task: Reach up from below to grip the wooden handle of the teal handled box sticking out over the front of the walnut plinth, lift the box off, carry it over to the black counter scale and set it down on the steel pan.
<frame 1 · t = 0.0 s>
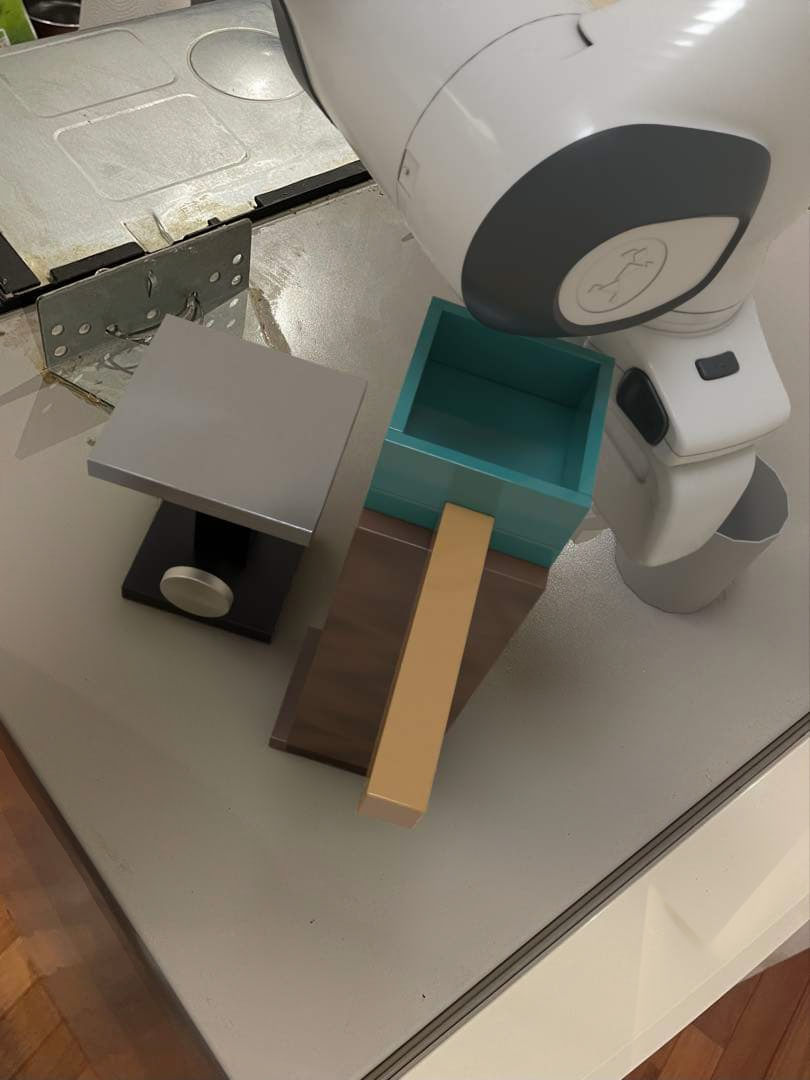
hand: (536, 464, 56), 16 cm above the counter, tool pointing down, fingers open, 8 cm apart
can: (537, 418, 80), on the counter
plinth: (362, 712, 63), on the counter
teal handled box: (476, 463, 42), point 26 cm above the counter, touching plinth
scale: (219, 565, 66), on the counter
cup: (666, 565, 75), on the counter
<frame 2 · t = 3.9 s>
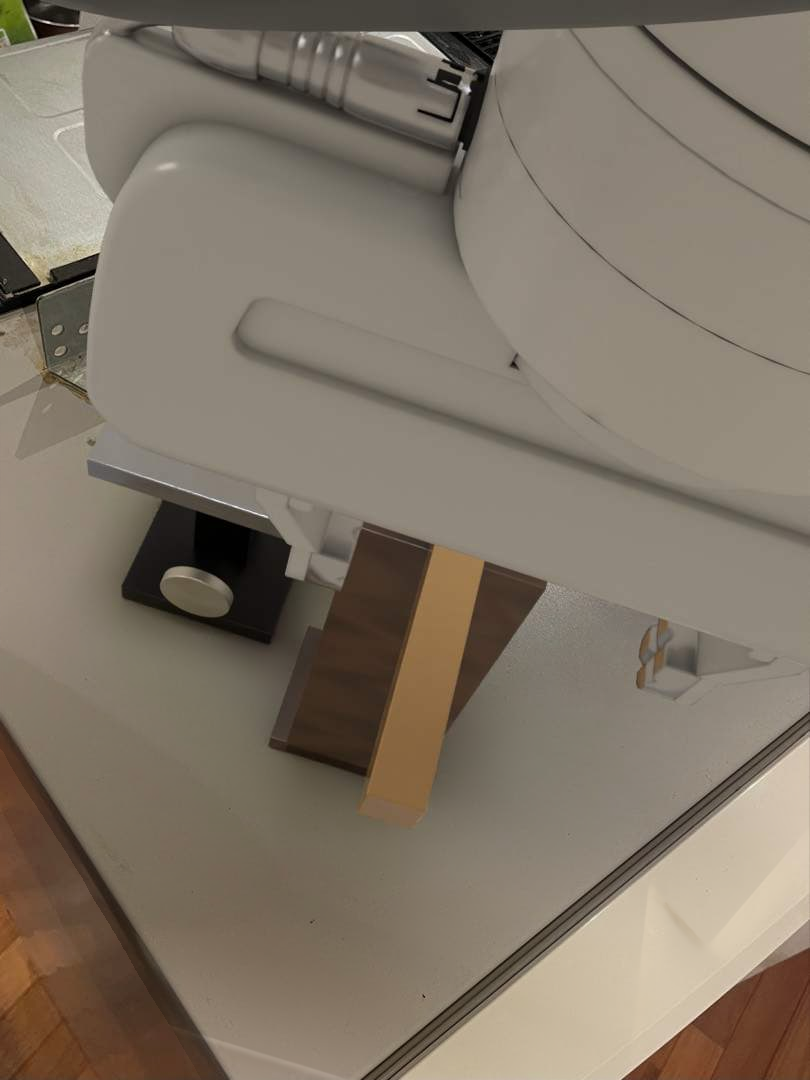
hand: (493, 618, 26), 37 cm above the counter, tool pointing down, fingers open, 8 cm apart
nothing on the counter moved.
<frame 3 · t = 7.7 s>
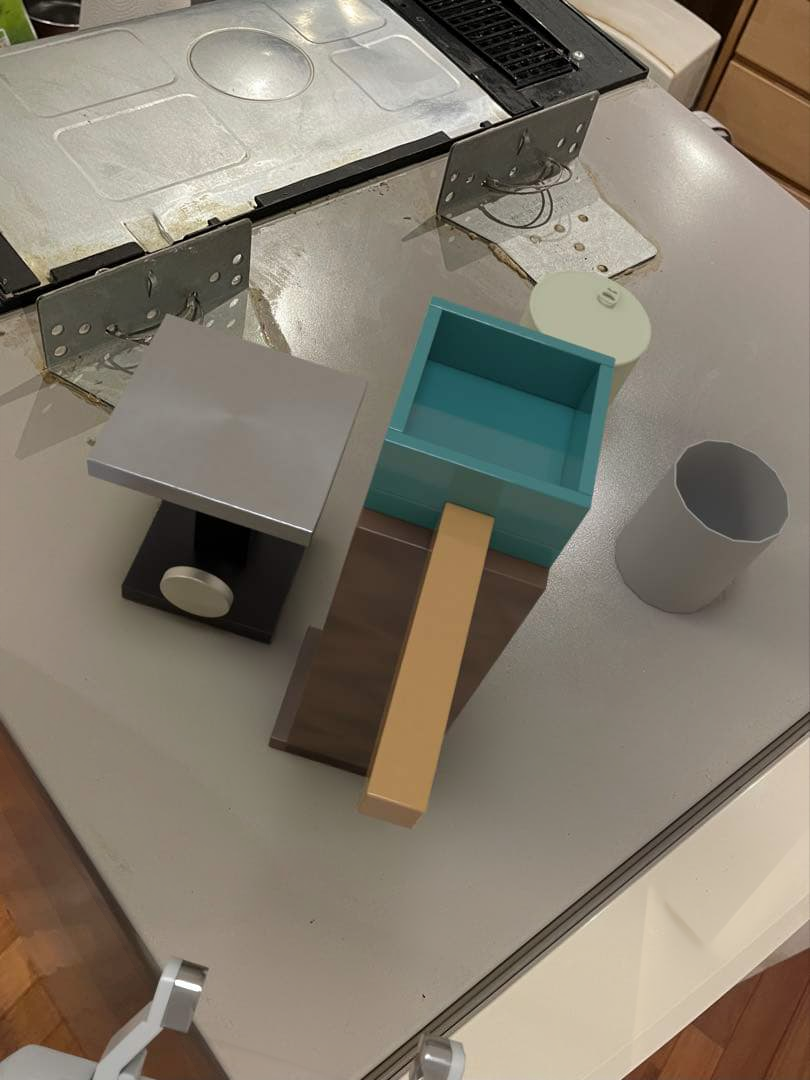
hand: (316, 1004, 35), 21 cm above the counter, tool pointing upward, fingers open, 8 cm apart
nothing on the counter moved.
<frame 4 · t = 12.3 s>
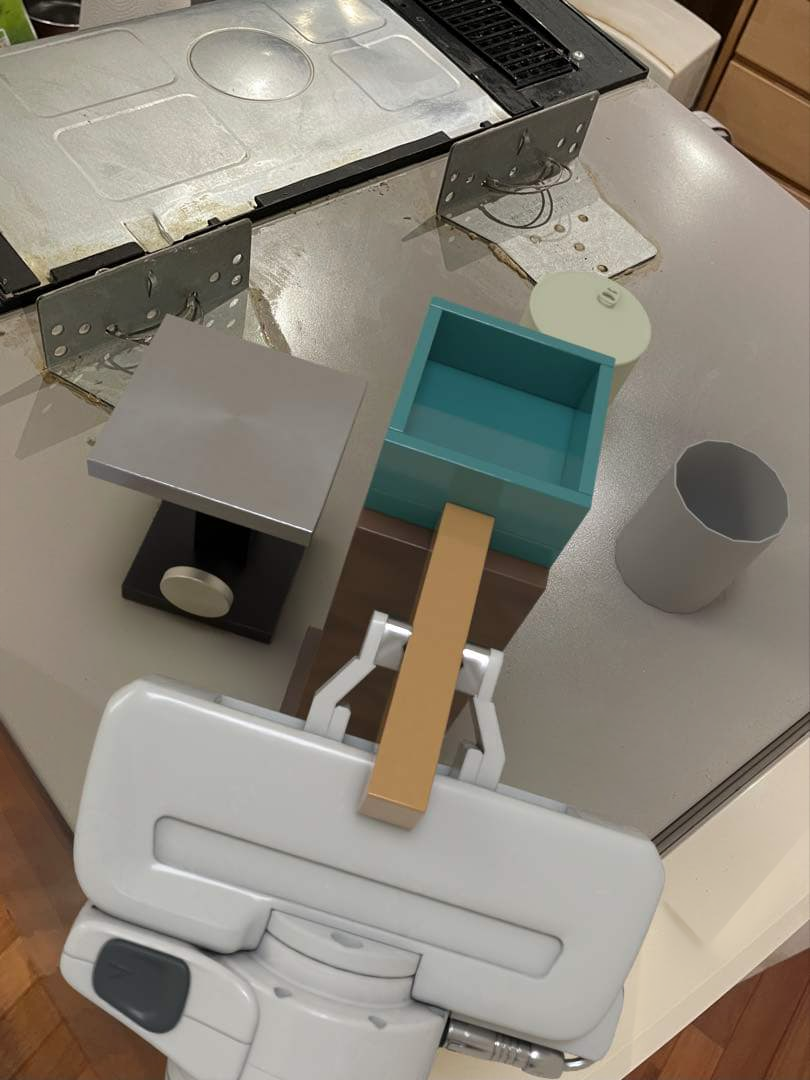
hand: (437, 630, 36), 28 cm above the counter, tool pointing upward, fingers closed on teal handled box, 2 cm apart
teal handled box: (476, 463, 42), point 26 cm above the counter, touching gripper, plinth
everything else where it was.
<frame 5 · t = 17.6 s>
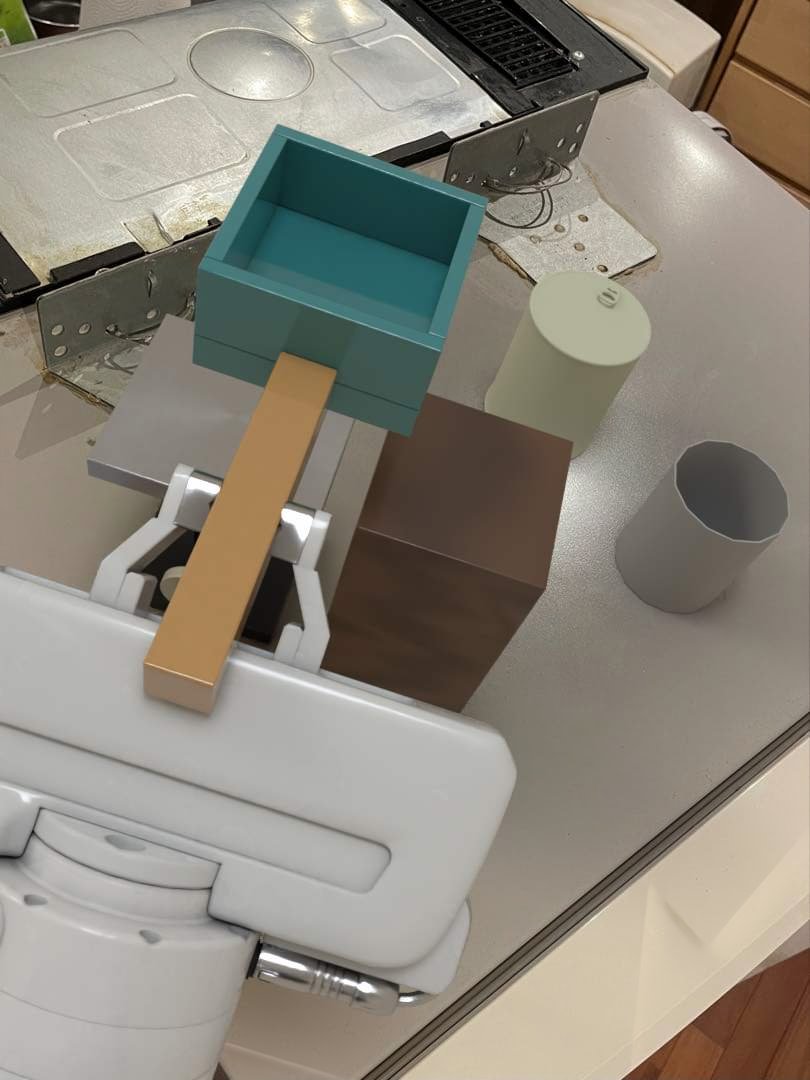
hand: (257, 489, 30), 33 cm above the counter, tool pointing upward, fingers closed on teal handled box
teal handled box: (333, 324, 37), point 32 cm above the counter, touching gripper
everything else where it was.
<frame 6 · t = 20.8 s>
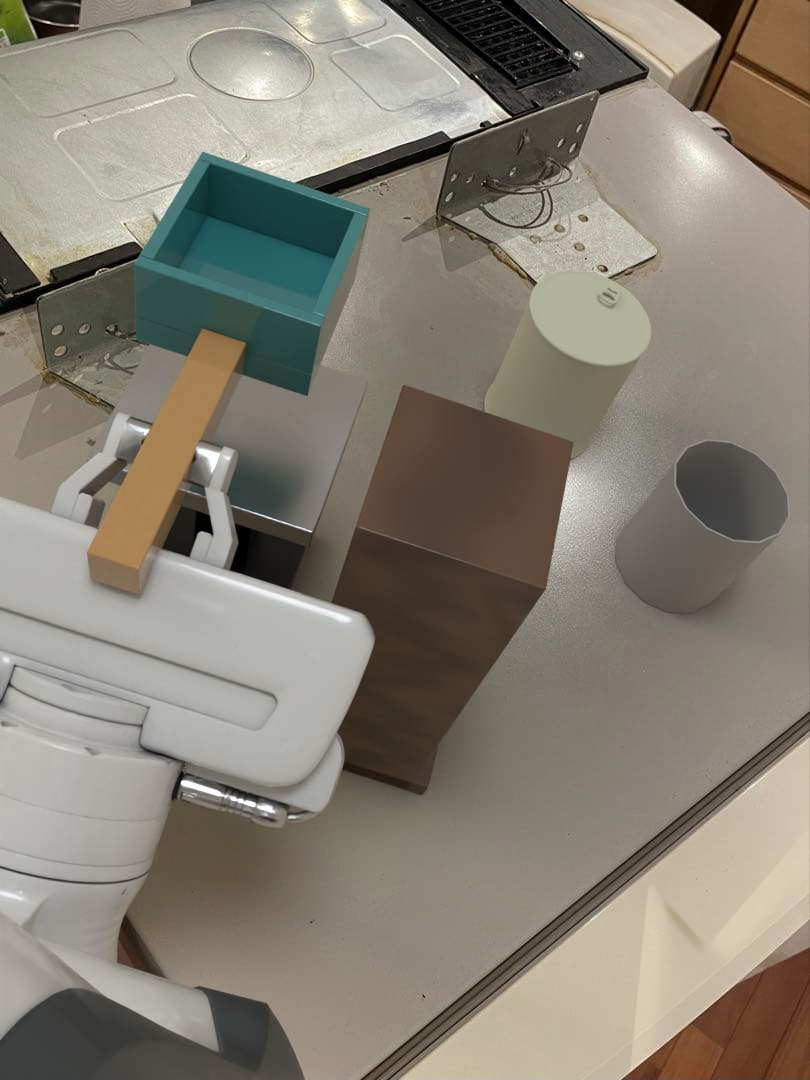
hand: (179, 432, 40), 26 cm above the counter, tool pointing upward, fingers closed on teal handled box, 2 cm apart
teal handled box: (250, 308, 46), point 24 cm above the counter, touching gripper
everything else where it was.
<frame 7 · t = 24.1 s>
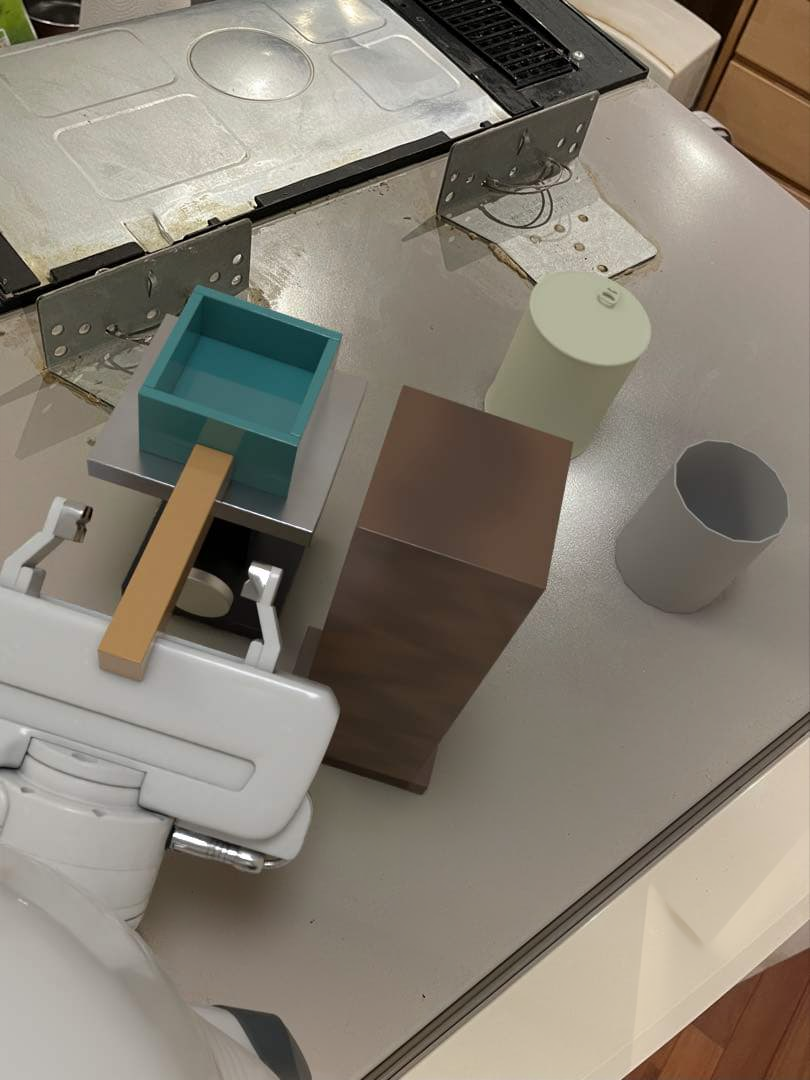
hand: (172, 533, 46), 18 cm above the counter, tool pointing upward, fingers open, 8 cm apart
teal handled box: (238, 417, 53), point 16 cm above the counter, touching scale
everything else where it was.
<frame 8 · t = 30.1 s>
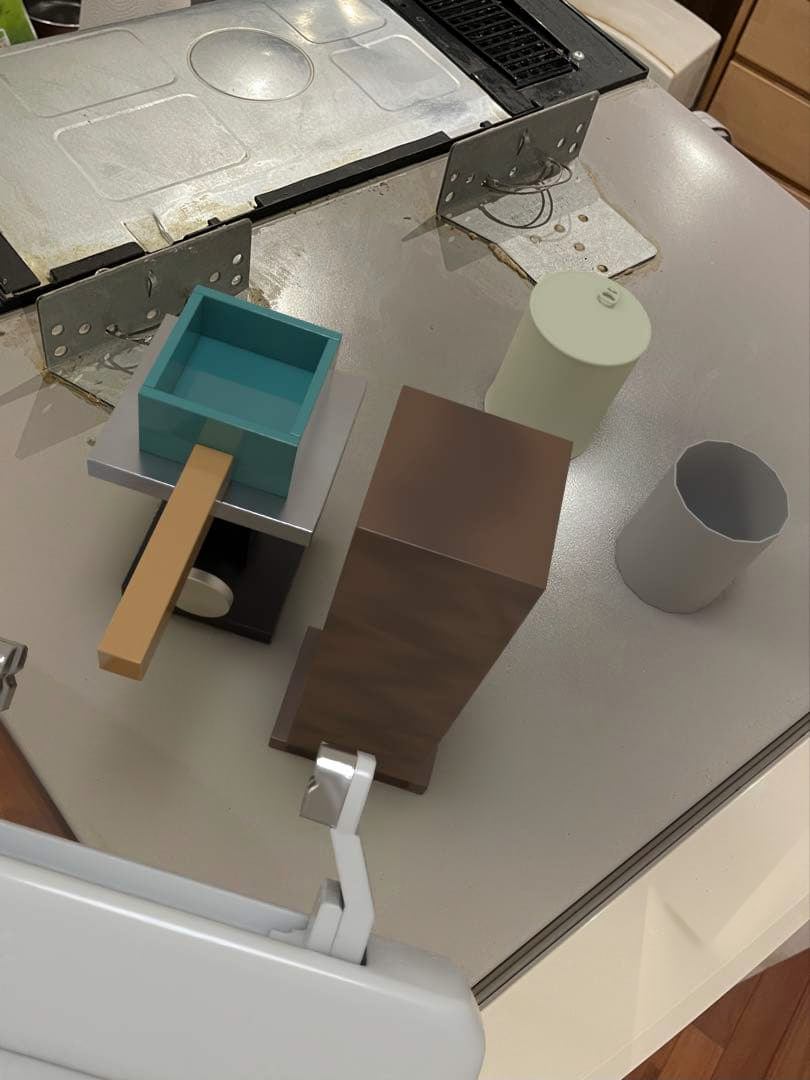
hand: (172, 693, 25), 34 cm above the counter, tool pointing upward, fingers open, 8 cm apart
nothing on the counter moved.
at the end: teal handled box inside the target area on the scale (0.5 cm from its centre), point 16.0 cm above the scale's base; teal handled box tilted 0°; the gripper is holding nothing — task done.
